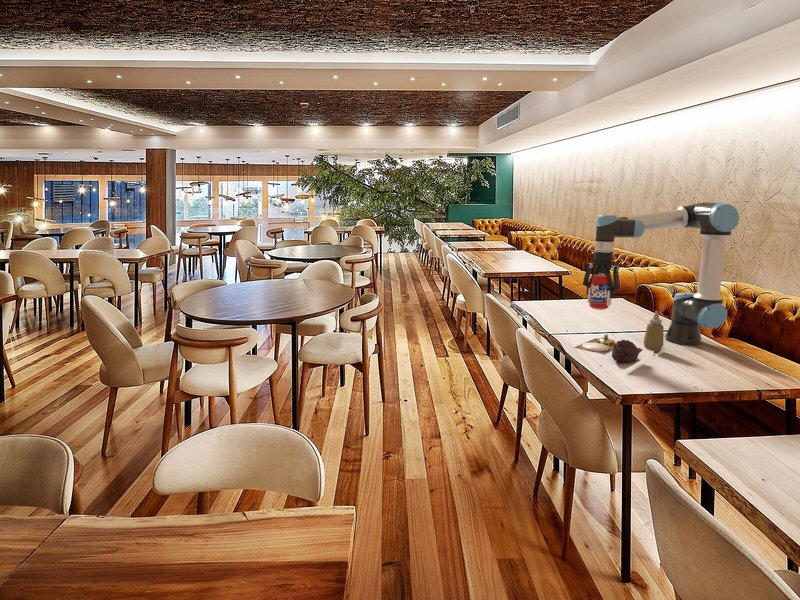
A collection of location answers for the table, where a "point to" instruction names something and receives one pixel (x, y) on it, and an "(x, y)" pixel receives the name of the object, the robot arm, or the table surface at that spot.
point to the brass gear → (605, 340)
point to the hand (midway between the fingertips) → (599, 303)
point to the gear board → (596, 351)
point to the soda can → (599, 292)
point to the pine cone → (625, 351)
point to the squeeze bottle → (654, 334)
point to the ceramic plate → (595, 347)
